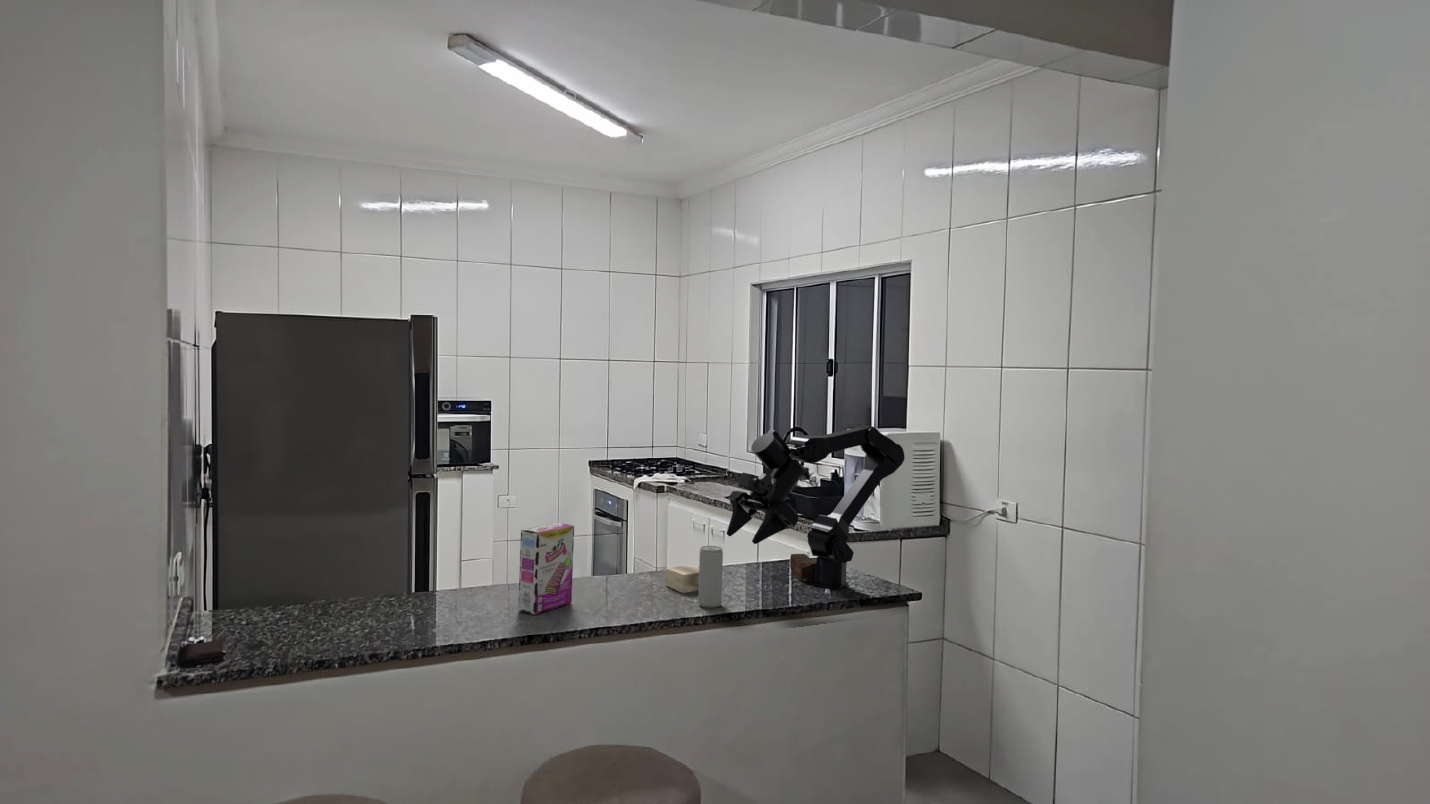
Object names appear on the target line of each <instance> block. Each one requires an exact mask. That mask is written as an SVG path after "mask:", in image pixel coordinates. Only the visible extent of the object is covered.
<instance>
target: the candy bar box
mask: <svg viewBox="0 0 1430 804" xmlns="http://www.w3.org/2000/svg"><path fill="white" fill-rule="evenodd" d="M574 540H575V525H571V524H565V523H559V522H556V523H550V524H545V525H541V526H536V527H529V528H524V529H520V548H519V549H520V551H519V553H520V554H519V575H518V576H519V577H518V579H519V581H518V582H519V583H518V605H517V606H518V609H517V610H518V611H519V612H521V613H525V614H528V615H529V614H530V615H532V616H533V615H534V616H535V615H539V614H541V613H545V612H548V611H551V610H555V609H557V608H560V607H564V606H567V605H569V604H572V600H573V596H572V595H573V573H574V572H573V571H574V570H573V569H574V568H573V565H574V564H573V563H574V545H575V543H574Z"/></svg>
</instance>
